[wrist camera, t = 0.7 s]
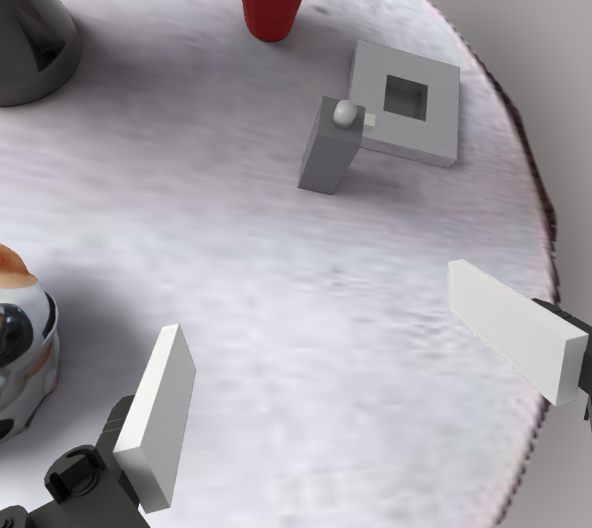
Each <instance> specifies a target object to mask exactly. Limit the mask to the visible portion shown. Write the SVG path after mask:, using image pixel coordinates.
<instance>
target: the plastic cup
mask: <svg viewBox="0 0 592 528" xmlns="http://www.w3.org/2000/svg"><path fill="white" fill-rule="evenodd" d="M301 1H302V0H242V2H243V9H244V16H245V21H246V24H247V27H248V29H249V31H250V32H251V33H252V34H253V35H254V36H255V37H256V38H258V39H261V40H263V41H268V42H276V41H280V40H282V39H283V38H285V37H286V36H287V35H288V33H289V31H290V29H291V27H292V24H293V22H294V19H295V16H296V13H297V11H298V9H299V6H300V4H301Z"/></svg>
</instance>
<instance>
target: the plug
mask: <svg viewBox="0 0 592 528" xmlns="http://www.w3.org/2000/svg"><path fill="white" fill-rule="evenodd" d="M365 110H366V107H363V106H359V105H355V104H354V103H353V102H352V101H350V100H341V101H340V100H336V99H332V98H328V97H324V96H323V99H322V102H321V105H320V108H319V111H318V114H317V117H316V120H315V123H314V126H313V129H312V132H311V135H310V138H309V141H308V144H307V147H306V150H305V153H304V156H303V161H302V167H301V173H300V178H299V184H298V188H302V189H306V190H311V191H315V192H320V193H324V194H329V195H332V194H333V192H334V190H335V189H336V187H337V185H338V183H339V182H340V180H341V178H342V177H343V175H344V173H345V172H346V170H347V168H348V166H349V165H350V163H351V161H352V160H353V158H354V156H355V155H356V153H357V151H358V149H359V148H360V146H361V142H362V134H363V126H364V118H365Z"/></svg>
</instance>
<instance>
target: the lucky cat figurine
mask: <svg viewBox="0 0 592 528" xmlns="http://www.w3.org/2000/svg"><path fill="white" fill-rule="evenodd" d="M58 318H59V311H58V308H57V305H56V302H55V299H54V298H53V297H52V296H51V295H50V294H49V293H48V291H47V290H46V288H45V287H44V286H43V285H42V284H41V283H39V281H38V279H37V278H36V277H35V276H34V275H32V274H30V273H29V272H28V270H27V268H26V266H25V264H24V263H23V261H22V259H21V258H20V257H19V255H18V254H17V253H15V252H14V251H12V250H11V249H9V248H8V247H6V246H5V245H3V244H1V243H0V444H1V443H2V442H4V441H6V440H8V439H10V438H11V437H13V436H14V435H16V434H19V433H21V432H22V431H24V430H26V429H27V428H28V427H29V425H30V423H31V421H32V419H33V417H34V414H35V412H36V410H37V409H38V407H39V406H40V405H41V403H42V402H43V400H44V399H45V398H46V397H47V396H48V395H49V394H51V393H52V392H53V389H54V388H55V386H56V385H57V383H58V363H59V354H60V339H59V335H58V332H57V330H56V328H57V321H58Z"/></svg>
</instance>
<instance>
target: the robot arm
mask: <svg viewBox="0 0 592 528" xmlns="http://www.w3.org/2000/svg"><path fill="white" fill-rule="evenodd" d="M80 55H81V40H80V36H79V33H78V31H77V29H76V27H75V25H74V23H73V21H72V19H71V17H70V15H69V13H68V11H67V10H66V8H65V7H64V5H63V4H62V2H61V1H60V0H0V106H10V105H18V104H23V103H28V102H31V101H34V100H37V99H40V98H42V97H44V96H46V95H48V94H50V93H52V92H54V91H55V90H57V89H58V88H59V87H61V86H62V85H63V84H64V83H65V82H66V81H67V80H68V79H69V78H70V77H71V75H72V74H73V73H74V71H75V69H76V67H77V65H78V63H79V60H80ZM448 311H449V312H450V313H451V314H452V315H453V316H455V317H456V318H457V319H458V320H459V321H460V322H461V323H462V324H463V325H465V326H466V327H467V328H468V329H469V330H470V331H471V332H472V333H474V334H475V335H476V336H477V337H478V338H479V339H480V340H481V341H483V342H484V343H485V344H486V345H487V346H488V347H489V348H490V349H492V350H493V351H494V352H495V353H496V354H497V355H498V356H499V357H500V358H502V359H503V360H504V361H505V362H506V363H507V364H508V365H509V366H511V367H512V368H513V369H514V370H515V371H516V372H517V373H518V374H520V375H521V376H522V377H523V378H524V379H525V380H526V381H527V382H529V383H530V384H531V385H532V386H533V387H534V388H535V389H536V390H537V391H539V392H540V393H541V394H542V395H543V396H544V397H545V398H546V399H548V400H549V401H550V402H551V403H552V404H553V405H554V406H558V405H562V404H566V403H569V402H573V401H576V397H577V392H578V387H580V388H581V389H582V390H584V391H585V392H586V393H588V394H589V397H588V402H587V407H586V411H585V416H584V420H588V419H589V418H590V424H591V430H592V327H591V326H589V325H588V324H586V323H584V322H582V321H580V320H578V319H577V318H575V317H572V315H570V314H568V313H567V312H565V311H562V310H561V309H560V308H558V307H556V306H554V305H553V304H551V303H548V302H545V301H542V300H539V299H536V298H534V299H529V298H527V297H525V296H524V295H522V294H520V293H519V292H517V291H515V290H514V289H512V288H510V287H509V286H507V285H505V284H504V283H502V282H500V281H499V280H497V279H495V278H494V277H492V276H490V275H489V274H487V273H485V272H484V271H482V270H480V269H479V268H477V267H475V266H474V265H472V264H470V263H469V262H467V261H465V260H464V259H460V260H456V261H451V262H448ZM195 373H196V368H195V365H194V363H193V360H192V357H191V354H190V352H189V349H188V346H187V343H186V341H185V338H184V335H183V332H182V330H181V327H180V324H179V323H177V324H173V325H168V326H164V327H162V329H161V332H160V334H159V337H158V339H157V342H156V344H155V347H154V350H153V352H152V355H151V357H150V360H149V362H148V365H147V367H146V370H145V372H144V375H143V377H142V380H141V382H140V385H139V387H138V390H137V392H136V394H135V395H131V396H127V397H123V398H122V399H121V400H120V401H119V402H118V403H117V404H116V406H115V407H114V408H113V409H112V411H111V413H110V415H109V418H108V420H107V423H106V424H105V426H104V428H103V433H101V435H100V437H99V439H98V442H97V444H96V446H95V447H94V446H92V445H82V446H79V447H76V448H73V449H72V450H70V451H68V452H66V453H65V454H63V455H62V456H61V457H60V458H59V459H57V460H56V461H55V462H54V464H53V465H52V466H51V467H50V468H49V470H48V472H47V474H46V476H45V478H44V482H45V487H46V488H47V489H48V491H49V492H50V494H51V495H52V497H53V498H54V499H55V500H53V501H51V502H49V503H47V504H45V505H43V506H41V507H39V508H37V509H36V510H34V511H32V512H30V513H28V512H27V511H26V509H25V508H24V507H22V506H19V505H16V506H10V507H7V508H5V509H3V510H1V511H0V528H150V526H149V525H148V523H147V522H146V521H145V519H144V518H143V516H142V515H141V514H140V512H139V511H138V507H139V503H140V504H141V506H142V508H143V509H144V511H145V513H146V514H147V513H151V512H155V511H159V510H162V509H166V508H170V507H171V501H172V496H173V491H174V485H175V480H176V475H177V469H178V464H179V459H180V453H181V448H182V443H183V437H184V432H185V427H186V421H187V416H188V411H189V405H190V400H191V395H192V389H193V384H194V379H195Z"/></svg>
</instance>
